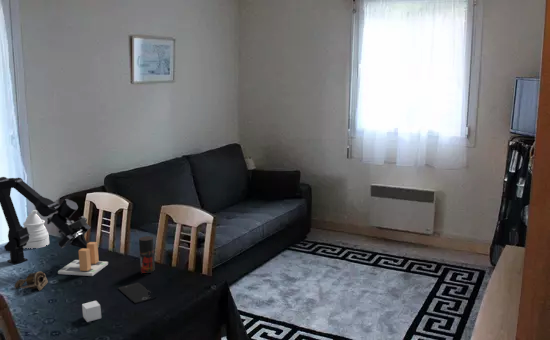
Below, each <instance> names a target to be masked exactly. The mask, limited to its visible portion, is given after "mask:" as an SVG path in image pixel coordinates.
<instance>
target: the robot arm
mask: <svg viewBox="0 0 550 340" xmlns="http://www.w3.org/2000/svg"><path fill="white" fill-rule="evenodd" d="M12 189H14V190H15V191H17V192H18V193H20V195H22V197H24V198H26V199H27V201H29V202H31V204H32V205H34V208H35V210H37V213H38V214H39V215H40V216H42V217H45V218H46V217H47V221H46V222H47V223H46V224H47V225H50V224H53V225H54V226H55V227H56V228H57V229H58V233H59V234H61V233H62V234H63V235H64V236H63V237H62V238H61V239H60V240H59V241H58V246H59V247H60V248H61V249H63V248H65V247H66V244H67V243H68V242H70V243H69V246H73V247H77V248H80V249H82V248H86V249H87V244H88V242H87V241H86V238H85V235H86V234H87V232H88V231H89V230H90V229H91V226H90V225H89V224H88V223H87V221H88V218H86V217H85V216H84V215H82V216H79V217H78V220H77V221H74V220H72V219H71V220H70V219H68V218H71V217H72V216H73V215H74V214H75V212H76V211H77V210H78V208H79V206H78V204H77V202H76V201H73V200H71V199H69V198H65V199H63V201H62V202H61V204H60V203H56V202H55V201H53V200H52V199H50V198H47V197H44V196H43V195H41V194H40V193H38V191H36V190H35V189H34V188H32V187H31V186H30V185H28V184H27V183H26V182H25V181H24V179H23V178H21V177H10V178H8V177H6V176H1V177H0V207H1V211H2V213H3V215H4V218H5V221H6V224H7V228H8V232H7V239H8V241H7V243H6V244H5V245H4V247H3V248H4V251H5V252H9V257H10V258H9V259H7V261H8V262H7V263H10V264H14V265H17V264H20V263H23V262H26V261H28V258H25V253H24V252H25V251H24V248H23V247H24V246H26V245H27V242H28V240H29V235H30V234H29V233H28V230H27V227H25V228H23V227H24V226H22V225H21V223H20V220H19V217H18V213H17V211H16V208H15V206H14V203H13V199H12V197H11V193H12ZM51 215H52V216H51ZM49 216H50V217H49Z"/></svg>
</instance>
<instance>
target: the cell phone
mask: <svg viewBox="0 0 550 340" xmlns="http://www.w3.org/2000/svg"><path fill="white" fill-rule="evenodd" d="M147 289H148V288H147ZM147 289H146V287H145V286H144V285H143V284H141V283H140V282H135V283H131V284H127V285H122V286H118V289H117V290H119V291H120V292H121V293H122V294H123V295H126V298H127V299H129V300H130V301H131V302H132V301H133V302H134V304H135V305H136V304H137V303H138V304H141V303H143V302H142V301H145V302H147V301H146V300H148V299H150V298H151V297H149V296H150V295H148V292H150V293H151V292H152V291H150V290H149V289H148V290H147ZM133 302H132V303H133ZM140 302H141V303H140ZM138 304H137V305H138Z"/></svg>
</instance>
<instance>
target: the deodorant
mask: <svg viewBox="0 0 550 340" xmlns="http://www.w3.org/2000/svg"><path fill="white" fill-rule="evenodd" d="M138 245H139V246H138V247H139V263H140V273H141V272H142V273H148V272H152V271H154V270H155V271H156V268H155V267H156V266H155V252H154V251H155V250H154V249H155V248H154V237H153V236H151V235H149V236H145V235H144V236H141V237H139V238H138ZM142 273H141V274H142Z"/></svg>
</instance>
